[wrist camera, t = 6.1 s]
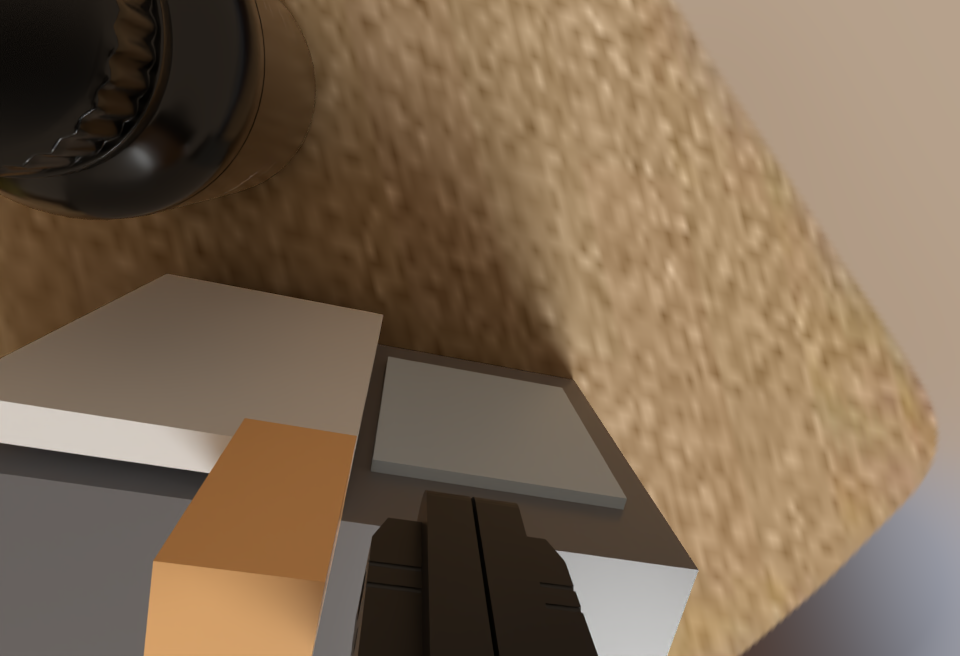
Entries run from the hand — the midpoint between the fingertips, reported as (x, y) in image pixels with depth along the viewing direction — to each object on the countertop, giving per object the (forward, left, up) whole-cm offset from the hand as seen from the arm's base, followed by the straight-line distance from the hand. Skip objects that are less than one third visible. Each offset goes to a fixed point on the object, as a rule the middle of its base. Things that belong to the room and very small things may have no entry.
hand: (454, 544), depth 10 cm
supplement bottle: (-6, -8, -13) cm, 17 cm away
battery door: (0, -5, -12) cm, 13 cm away
